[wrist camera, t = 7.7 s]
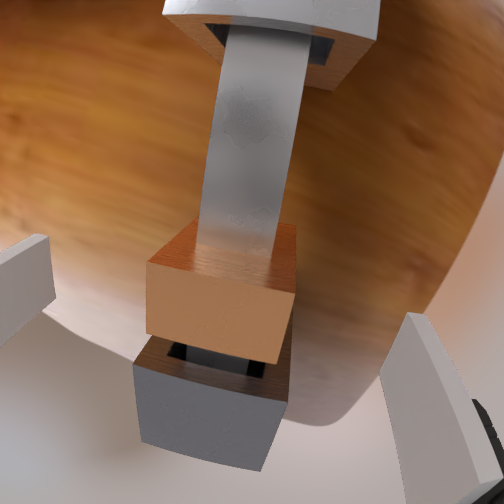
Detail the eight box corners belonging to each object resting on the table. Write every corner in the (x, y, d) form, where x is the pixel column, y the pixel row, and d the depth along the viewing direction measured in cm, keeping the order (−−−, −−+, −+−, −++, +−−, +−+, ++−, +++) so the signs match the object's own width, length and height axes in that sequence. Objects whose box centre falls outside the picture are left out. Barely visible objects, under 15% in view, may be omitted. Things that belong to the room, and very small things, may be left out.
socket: (203, 261, 25) (132, 363, 13) (293, 280, 24) (287, 402, 13) (196, 330, 27) (141, 441, 15) (276, 347, 26) (260, 471, 15)
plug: (237, 27, 14) (195, -43, 7) (330, 41, 14) (355, -27, 6) (195, 320, 21) (149, 407, 13) (270, 337, 20) (255, 434, 13)
